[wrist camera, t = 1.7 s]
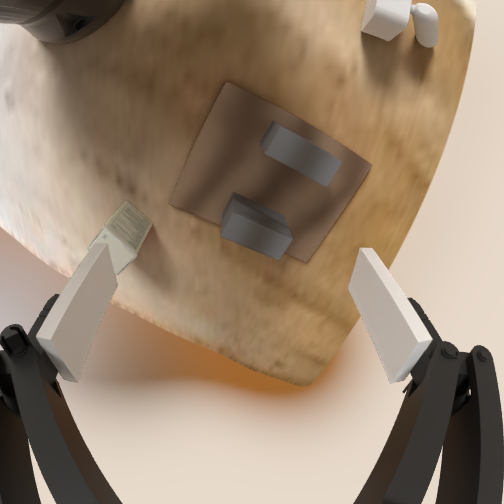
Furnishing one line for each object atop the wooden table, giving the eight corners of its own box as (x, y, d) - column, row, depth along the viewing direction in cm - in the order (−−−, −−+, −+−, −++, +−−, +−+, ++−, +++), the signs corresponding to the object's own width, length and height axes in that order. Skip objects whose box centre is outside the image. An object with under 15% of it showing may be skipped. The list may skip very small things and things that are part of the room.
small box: (109, 218, 35) (85, 249, 28) (127, 198, 34) (103, 226, 27) (135, 243, 37) (116, 277, 30) (154, 224, 36) (137, 256, 29)
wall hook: (429, 67, 25) (465, 58, 16) (357, 37, 25) (374, 14, 17) (436, 20, 21) (470, 3, 12) (366, -10, 21) (382, -41, 13)
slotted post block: (170, 200, 34) (157, 225, 28) (226, 82, 27) (224, 78, 21) (305, 258, 40) (316, 290, 34) (369, 163, 33) (395, 180, 27)
